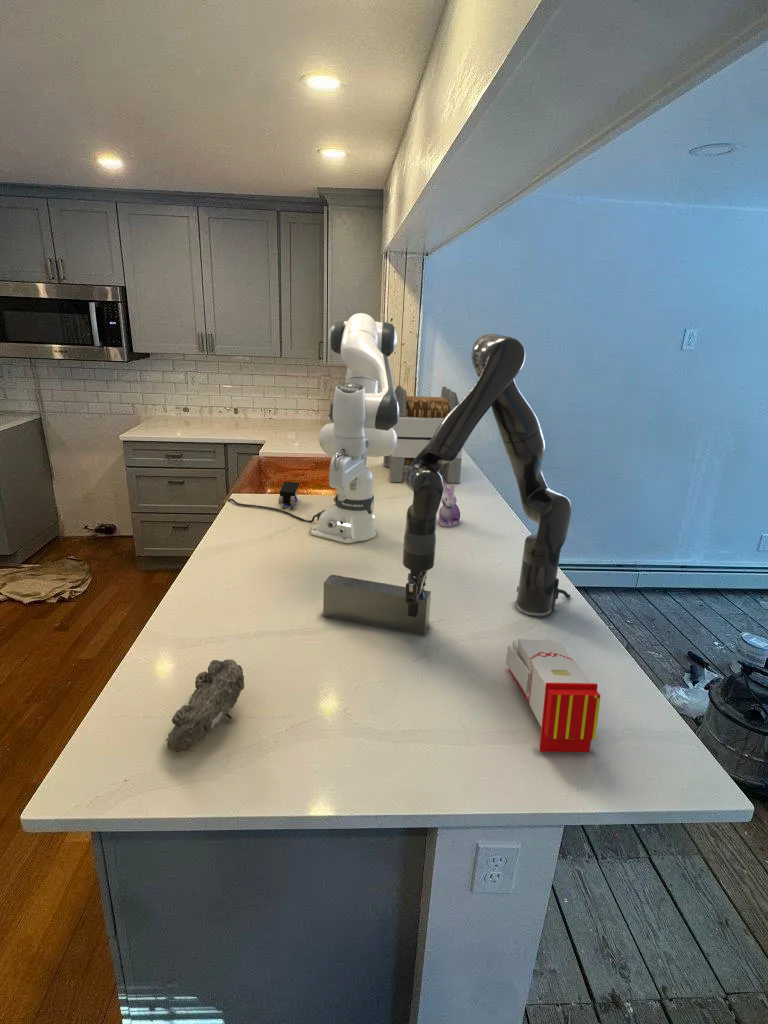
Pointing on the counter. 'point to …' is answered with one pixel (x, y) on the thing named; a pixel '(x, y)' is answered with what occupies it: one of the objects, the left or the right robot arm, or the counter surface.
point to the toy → (556, 694)
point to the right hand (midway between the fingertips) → (415, 610)
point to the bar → (374, 604)
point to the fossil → (206, 705)
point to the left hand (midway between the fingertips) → (347, 495)
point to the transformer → (420, 431)
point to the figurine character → (288, 494)
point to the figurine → (449, 508)
